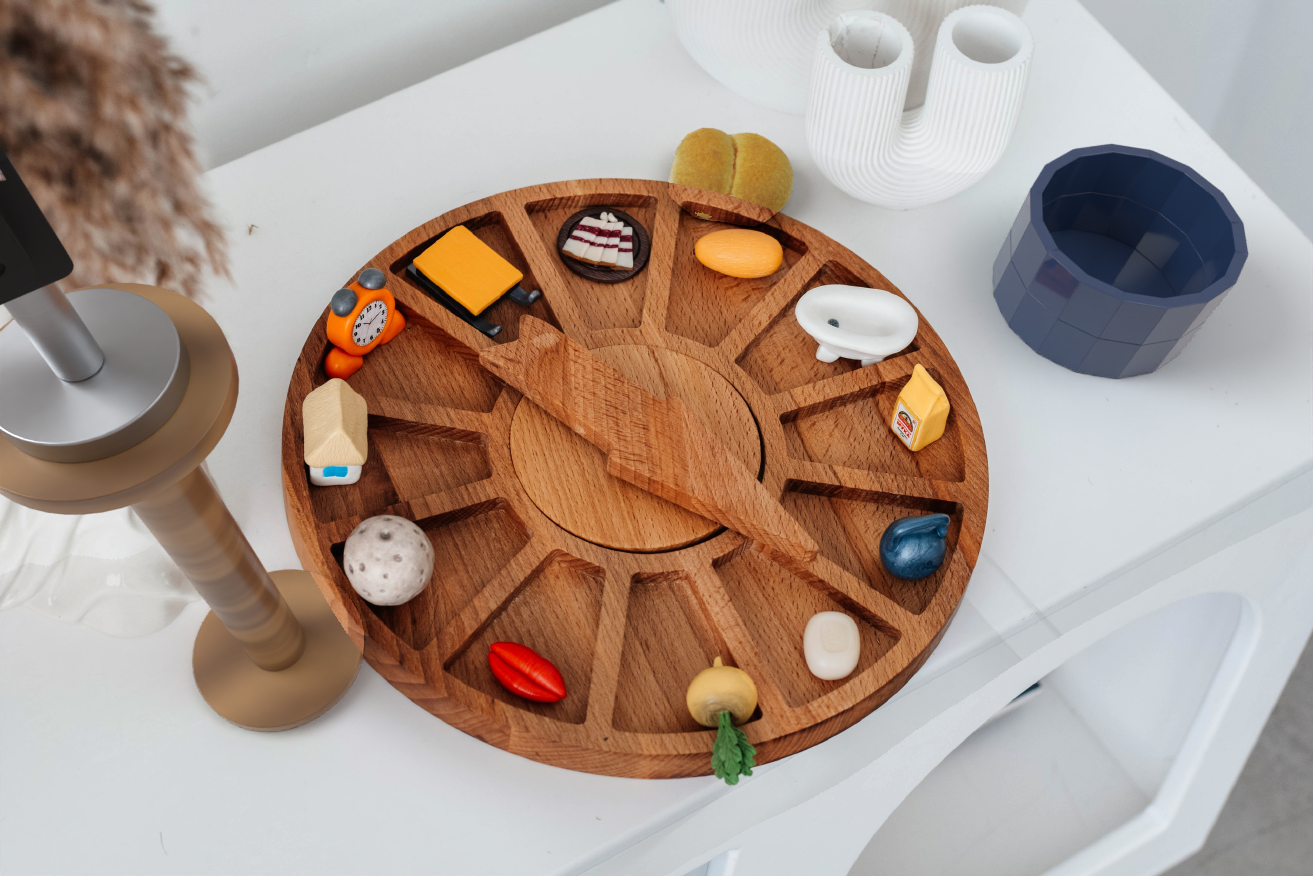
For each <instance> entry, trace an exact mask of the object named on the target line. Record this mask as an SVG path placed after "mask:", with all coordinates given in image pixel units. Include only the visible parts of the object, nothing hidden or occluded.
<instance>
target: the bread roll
mask: <svg viewBox="0 0 1313 876" xmlns="http://www.w3.org/2000/svg"><path fill="white" fill-rule="evenodd" d="M668 182H669V183H675V184H680V185H686V186H691V187H696V188H700V189H704V190H710V191H713V192H719V193H722V194H727V195H732V196H734V197H736V198H740V199H742V200H745V201H748V202H750V203H754V204H758V205H761V206H763V207H766V208H769V209H772V210H774V211H777V212H779V213H780V212H781V211H782V210H783V209H785V207H786V206H787V205H788V203H789V201H790V199H791V198H792V195H793V189H794V171H793V167H792V165H791V161H790V159H789V157H788V156H787V154H786V152H785V151H783V149H782V148H781V147H779V146H778V145H777V144H776V143H774V142H773V141H771V140H770V139H769V138H766V137H765V136H763V135H761V134H759V133H755V132H738V133H732V134H728V133H726V132H725V131H723V130H721V129H718V128H715V127H701V128H697V129H696V130H693V131H692V132H689V133H687V134H686V135H685V136H684V137H683V139H682V140H681V142H680V143H679V145H678V146H677V147H676V148H675V151H674V155H673V159H672V162H671V165H670V171H669V176H668V180H667V183H668ZM695 214H697V216H700V217H703V218H705V219H708V218H711V217H712V216H709V215H708V214H704V213H703V212H702V213H699V212H698V213H696V212H695Z"/></svg>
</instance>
